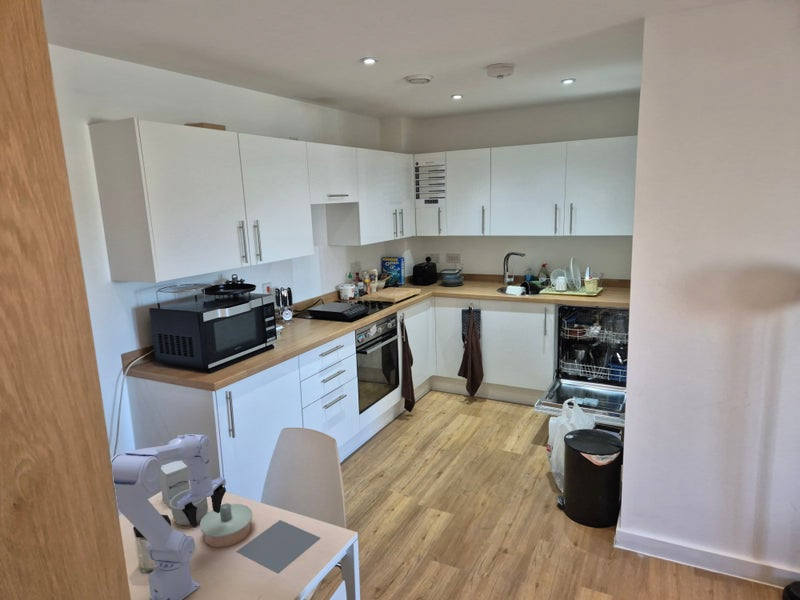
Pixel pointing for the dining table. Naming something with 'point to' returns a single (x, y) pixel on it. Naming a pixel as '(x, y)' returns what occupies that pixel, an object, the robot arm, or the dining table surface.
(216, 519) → the cover
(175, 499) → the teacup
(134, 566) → the dining table surface
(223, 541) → the bowl
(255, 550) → the mat
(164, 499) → the supplement box
